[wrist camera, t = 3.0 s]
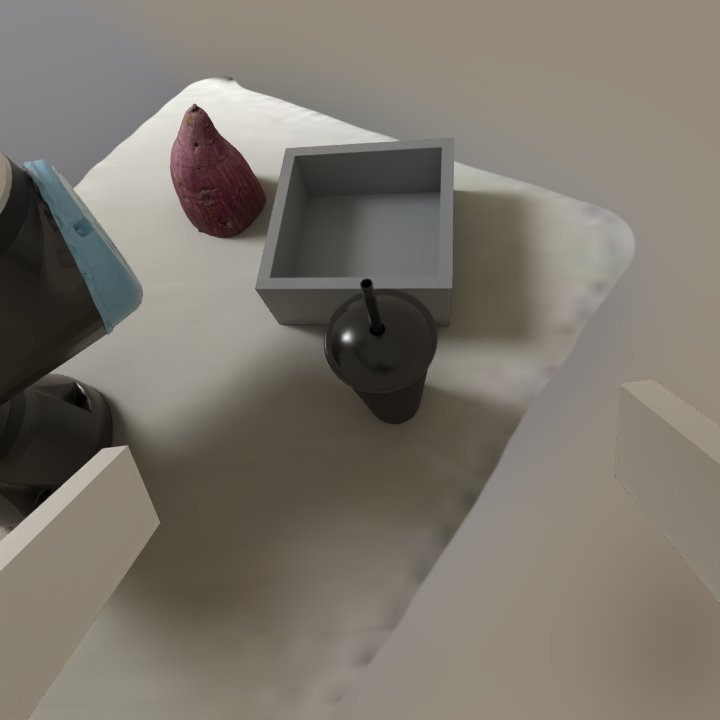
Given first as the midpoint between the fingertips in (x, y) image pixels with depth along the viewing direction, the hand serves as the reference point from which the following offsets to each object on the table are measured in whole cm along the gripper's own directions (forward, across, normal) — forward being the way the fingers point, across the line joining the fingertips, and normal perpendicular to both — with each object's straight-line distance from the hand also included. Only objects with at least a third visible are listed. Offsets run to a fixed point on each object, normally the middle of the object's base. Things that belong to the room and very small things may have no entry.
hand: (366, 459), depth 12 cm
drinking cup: (+27, 0, -12) cm, 30 cm away
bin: (+39, -1, +1) cm, 39 cm away
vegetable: (+47, -18, +8) cm, 51 cm away
